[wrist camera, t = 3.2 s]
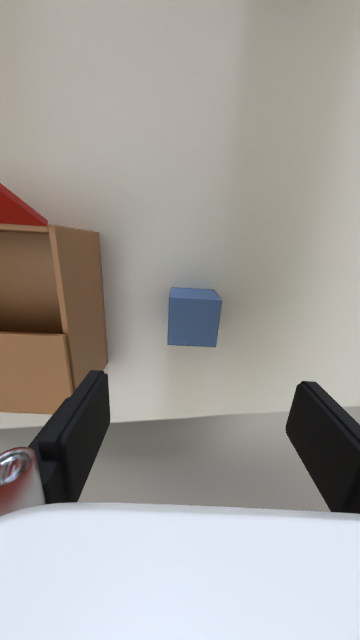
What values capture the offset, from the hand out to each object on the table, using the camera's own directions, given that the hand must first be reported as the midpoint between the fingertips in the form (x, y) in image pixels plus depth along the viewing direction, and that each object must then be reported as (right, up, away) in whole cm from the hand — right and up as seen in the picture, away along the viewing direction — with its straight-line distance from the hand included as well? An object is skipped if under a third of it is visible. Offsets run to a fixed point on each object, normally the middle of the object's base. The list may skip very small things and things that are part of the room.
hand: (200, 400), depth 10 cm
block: (0, +5, +15) cm, 16 cm away
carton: (-18, +6, +15) cm, 24 cm away
